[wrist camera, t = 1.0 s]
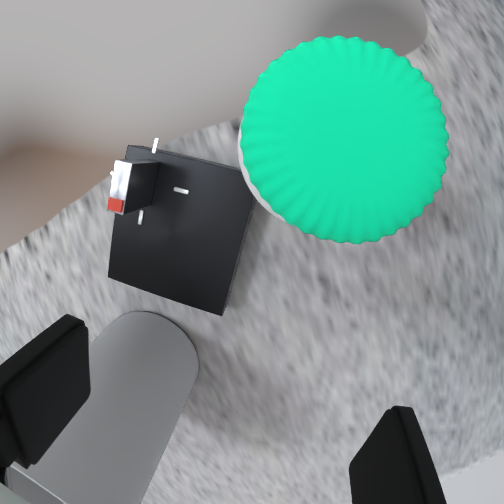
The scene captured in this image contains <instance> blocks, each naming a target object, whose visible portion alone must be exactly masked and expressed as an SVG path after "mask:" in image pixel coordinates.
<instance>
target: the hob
mask: <svg viewBox="0 0 504 504" xmlns="http://www.w3.org/2000/svg"><path fill="white" fill-rule="evenodd" d="M158 141H159V139H158V138H155V141H154V145H153V148H149V147H144V146H133V145H128V147H127V152H126V156H125V159H149V160H154V161H158V162H159V167H158V172H157V176H156V181H155V186H154V191H153V196H152V201H151V205H150V206H147V207H144V208H141V209H138V210H136V211H133V212H130V213H127V214H125V215H121V214H117V213H115V220H114V227H113V234H112V242H111V251H110V260H109V270H108V277H109V278H112V279H114V280H117V281H120V282H122V283H125V284H128V285H130V286H133V287H136V288H139V289H142V290H144V291H147V292H150V293H153V294H156V295H159V296H162V297H165V298H167V299H170V300H173V301H176V302H179V303H182V304H185V305H188V306H191V307H194V308H198V309H201V310H204V311H207V312H210V313H213V314H216V315H220V316H222V315H223V313H224V311H225V308H226V306H227V304H228V301H229V297H230V293H231V289H232V285H233V282H234V278H235V274H236V270H237V267H238V263H239V259H240V255H241V252H242V248H243V244H244V241H245V237H246V233H247V229H248V226H249V222H250V218H251V215H252V211H253V207H254V204H255V200H256V198H255V196H254V195H253V194H252V192H251V191H250V189H249V187H248V185H247V183H246V181H245V179H244V177H243V174H242V171H241V169H239V168H235V167H231V166H227V165H223V164H219V163H215V162H211V161H207V160H203V159H199V158H194V157H190V156H186V155H181V154H177V153H173V152H168V151H163V150H159V149H157V146H158ZM111 175H113V171H111Z"/></svg>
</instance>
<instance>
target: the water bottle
mask: <svg viewBox="0 0 504 504" xmlns="http://www.w3.org/2000/svg"><path fill="white" fill-rule="evenodd" d="M243 113H244V116H243V119H242V122H241V125H240V129H239V135H238V158H239V163H240V168H241V171H242V174H243V177H244V179H245V181H246V183H247V185H248V187H249V189H250V191H251V192H252V194H253V195H254V196H255V198H256V199H257V200H258V201H259V203H260V204H261V205H262V206H263V207H264V208H265V209H266V210H268V211H269V212H270V213H271V214H273V215H274V216H275V217H277V218H278V219H280V220H282V221H284V222H286V223H288V224H290V225H292V226H295V227H298V228H299V229H300V230H301V231H302V232H303V233H306V234H313V235H315V236H316V237H318V238H319V239H322V240H327V239H330V240H333V241H335V242H337V243H344V242H350V243H352V244H361V243H363V242H366V241H368V242H377V241H379V240H380V238H381V237H383V236H388V235H393V234H395V232H396V231H397V229H400V228H403V227H407V226H409V224H410V223H411V220H412V219H414V218H416V217H418V216H421V215H422V213H423V209H424V207H425V206H426V205H428V204H431V203H432V202H433V197H434V193H435V192H436V191H438V190H440V189H441V187H442V181H441V177H442V175H443V174H445V173H446V170H447V169H446V164H445V160H446V158H447V157H448V156H449V150H448V148H447V145H446V143H447V141H448V139H449V134H448V132H447V131H446V129H445V123H446V117H445V116H444V115H443V113H442V112H441V101H440V100H439V98H437V97H436V96H435V95H434V92H433V86H432V85H431V84H430V83H429V82H427V81H425V80H424V78H423V74H422V72H421V71H420V70H419V69H417V68H414V67H412V66H411V64H410V62H409V60H408V59H407V58H406V57H400V56H397V55H396V54H395V52H394V51H393V50H392V49H390V48H381V47H380V46H379V45H378V44H377V43H376V42H374V41H369V42H364V41H363V40H361V39H360V38H358V37H352V38H348V39H346V38H344V37H342V36H338V35H337V36H334V37H332V38H326V37H323V36H320V37H317V38H316V39H314V40H313V41H311V42H302V43H300V44H299V45H298V46H297V47H296V48H294V49H288V50H286V51H285V52H284V53H283V54H282V55H281V57H280V58H278V59H277V60H273V61H272V62H271V63H270V65H269V66H268V68H267V70H266V71H264V72H263V73H261V74H260V75H259V77H258V79H257V83H256V85H255V86H254V87H253V88H252V89H251V90H250V92H249V99H248V102H247V103H246V105H245V106H244V109H243Z"/></svg>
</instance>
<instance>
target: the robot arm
mask: <svg viewBox="0 0 504 504" xmlns="http://www.w3.org/2000/svg"><path fill="white" fill-rule="evenodd" d="M90 393H91V383H90V368H89V343H88V328H87V327H85V323H84V321H83V320H81V319H78V318H76V317H74V316H71V315H69V314H66V315H64V316H63V317H61V318H60V319H59V320H57V321H56V322H55V323H54V324H52V325H51V326H50V327H48V328H47V329H46V330H44V331H43V332H42V333H40V334H39V335H38V336H37V337H35V338H34V339H33V340H31V341H30V342H29V343H28V344H26V345H25V346H24V347H22V348H21V349H20V350H19V351H17V352H16V353H15V354H14V355H12V356H11V357H10V358H9V359H7V360H6V361H5V362H4V363H2V364H1V365H0V504H31V503H29V502H28V501H26V500H25V499H23V498H22V497H20V496H19V495H17V494H16V493H14V492H13V487H12V480H11V473H10V466H11V464H12V463H13V462H14V461H15V462H16V463H18V464H19V465H21V466H22V467H23V468H25V469H26V470H27V469H28V468H29V466H30V465H31V464H32V465H35V464H37V463H38V462H39V460H40V459H41V458H42V457H43V455H44V454H45V453H46V451H47V450H48V449H49V448H50V446H51V445H52V444H53V442H54V441H55V440H56V439H57V437H58V436H59V435H60V433H61V432H62V431H63V430H64V428H65V427H66V426H67V425H68V423H69V422H70V421H71V420H72V418H73V417H74V416H75V414H76V413H77V412H78V411H79V409H80V408H81V407H82V406H83V404H84V403H85V402H86V401H87V399H88V398H89V396H90ZM349 476H350V485H351V495H352V504H447V503H446V500H445V497H444V494H443V490H442V487H441V484H440V481H439V478H438V475H437V472H436V469H435V467H434V464H433V461H432V458H431V455H430V453H429V450H428V447H427V444H426V442H425V439H424V436H423V434H422V431H421V428H420V426H419V423H418V421H417V418H416V415H415V413H414V410H413V409H412V408H411V407H404V406H393V407H392V408H391V409H388V410H387V411H386V412H385V413H384V415H383V416H382V418H381V419H380V421H379V422H378V424H377V425H376V427H375V428H374V430H373V431H372V433H371V434H370V436H369V437H368V439H367V440H366V442H365V443H364V444H363V446H362V447H361V449H360V450H359V451H358V453H357V454H356V456H355V457H354V458H353V460H352V461H351V463H350V466H349Z"/></svg>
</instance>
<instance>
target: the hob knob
mask: <svg viewBox="0 0 504 504" xmlns="http://www.w3.org/2000/svg"><path fill="white" fill-rule="evenodd" d="M158 167H159V162H158V161H154V160H149V159H122V160H116V161H115V166H114V171H113V176H112V182H111V188H110V194H109V201H108V207H107V211H110V212H114V213H117V214H121V215H125V214H127V213H130V212H133V211H136V210H138V209H141V208H144V207H147V206H150V205H151V201H152V196H153V191H154V186H155V181H156V176H157V172H158Z"/></svg>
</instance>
